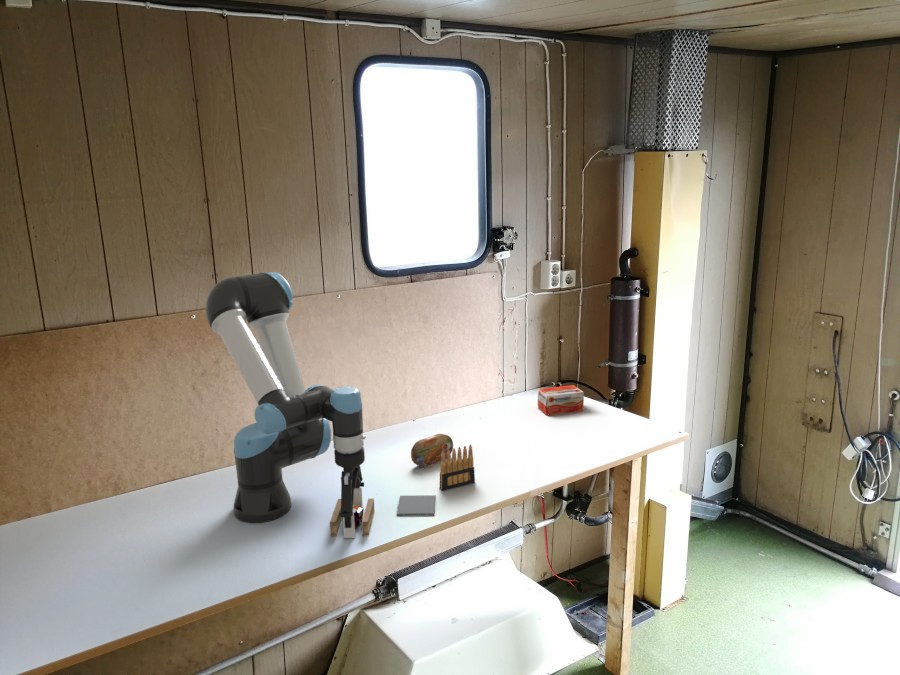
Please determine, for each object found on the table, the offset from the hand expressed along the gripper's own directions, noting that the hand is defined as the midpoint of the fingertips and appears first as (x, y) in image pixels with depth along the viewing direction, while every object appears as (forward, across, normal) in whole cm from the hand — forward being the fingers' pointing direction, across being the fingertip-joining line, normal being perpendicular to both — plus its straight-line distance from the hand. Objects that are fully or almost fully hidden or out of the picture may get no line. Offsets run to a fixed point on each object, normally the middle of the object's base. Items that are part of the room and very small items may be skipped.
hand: (353, 523), depth 179 cm
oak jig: (0, 0, 0) cm, 0 cm away
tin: (0, +37, -19) cm, 42 cm away
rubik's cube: (0, 0, 0) cm, 0 cm away
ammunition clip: (0, +21, -27) cm, 34 cm away
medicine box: (0, +81, -65) cm, 104 cm away
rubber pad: (0, +9, -16) cm, 18 cm away
